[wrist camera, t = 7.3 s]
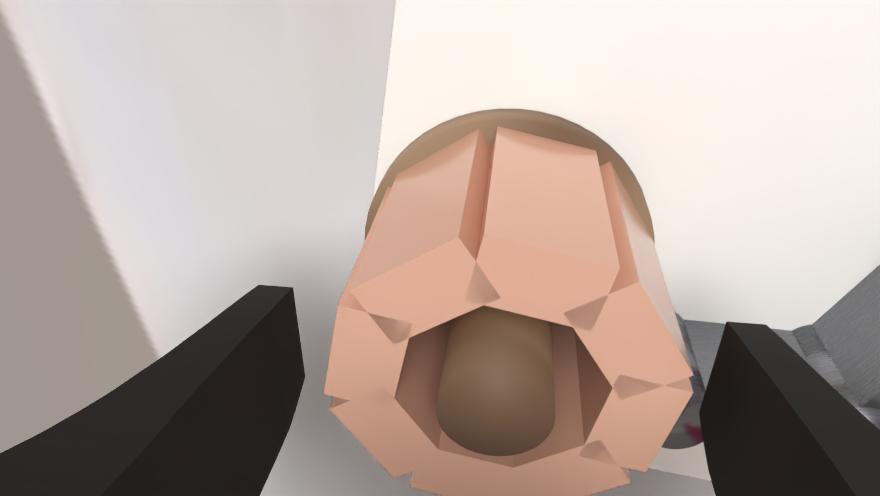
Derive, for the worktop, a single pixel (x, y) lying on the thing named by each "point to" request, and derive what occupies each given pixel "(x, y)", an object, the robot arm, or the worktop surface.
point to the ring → (515, 290)
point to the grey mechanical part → (820, 344)
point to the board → (685, 131)
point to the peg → (494, 330)
